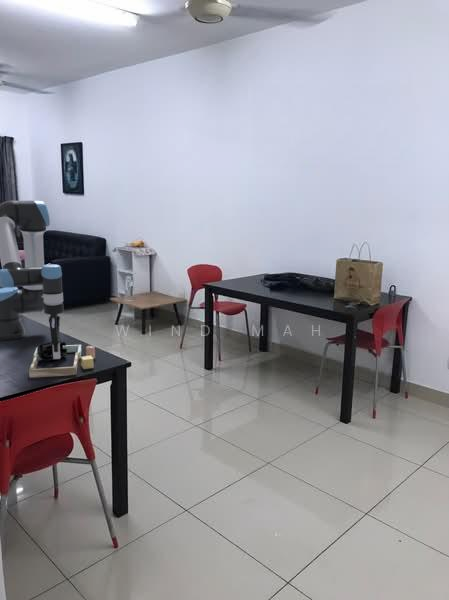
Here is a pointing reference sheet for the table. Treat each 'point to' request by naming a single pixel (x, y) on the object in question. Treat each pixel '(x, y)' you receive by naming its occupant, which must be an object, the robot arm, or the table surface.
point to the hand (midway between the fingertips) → (56, 358)
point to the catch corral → (68, 349)
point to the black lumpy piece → (50, 351)
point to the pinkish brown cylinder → (90, 351)
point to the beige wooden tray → (52, 369)
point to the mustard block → (87, 362)
